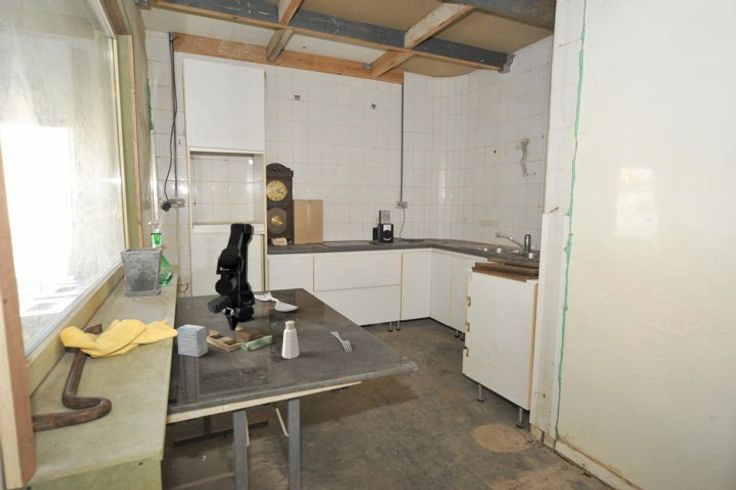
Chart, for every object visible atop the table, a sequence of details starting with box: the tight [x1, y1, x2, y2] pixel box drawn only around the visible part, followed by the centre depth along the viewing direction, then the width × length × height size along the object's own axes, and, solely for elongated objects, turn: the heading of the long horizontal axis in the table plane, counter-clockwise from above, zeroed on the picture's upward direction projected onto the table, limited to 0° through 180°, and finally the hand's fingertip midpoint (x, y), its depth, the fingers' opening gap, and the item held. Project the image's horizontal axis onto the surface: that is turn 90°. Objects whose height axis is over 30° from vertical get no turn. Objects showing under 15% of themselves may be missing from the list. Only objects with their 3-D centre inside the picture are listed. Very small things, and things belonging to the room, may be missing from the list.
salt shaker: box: [281, 320, 300, 360], centre depth 122 cm, size 5×5×11 cm
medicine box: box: [176, 324, 208, 358], centre depth 123 cm, size 8×4×9 cm, turn 71°
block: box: [235, 327, 260, 344], centre depth 133 cm, size 4×7×4 cm, turn 53°
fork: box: [330, 331, 353, 353], centre depth 135 cm, size 3×21×3 cm, turn 20°
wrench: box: [265, 321, 285, 338], centre depth 144 cm, size 5×20×1 cm, turn 37°
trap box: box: [207, 325, 273, 353], centre depth 135 cm, size 14×24×2 cm, turn 51°
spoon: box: [254, 291, 298, 313], centre depth 178 cm, size 9×32×4 cm, turn 39°
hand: (233, 330), depth 139 cm, fingers closed
